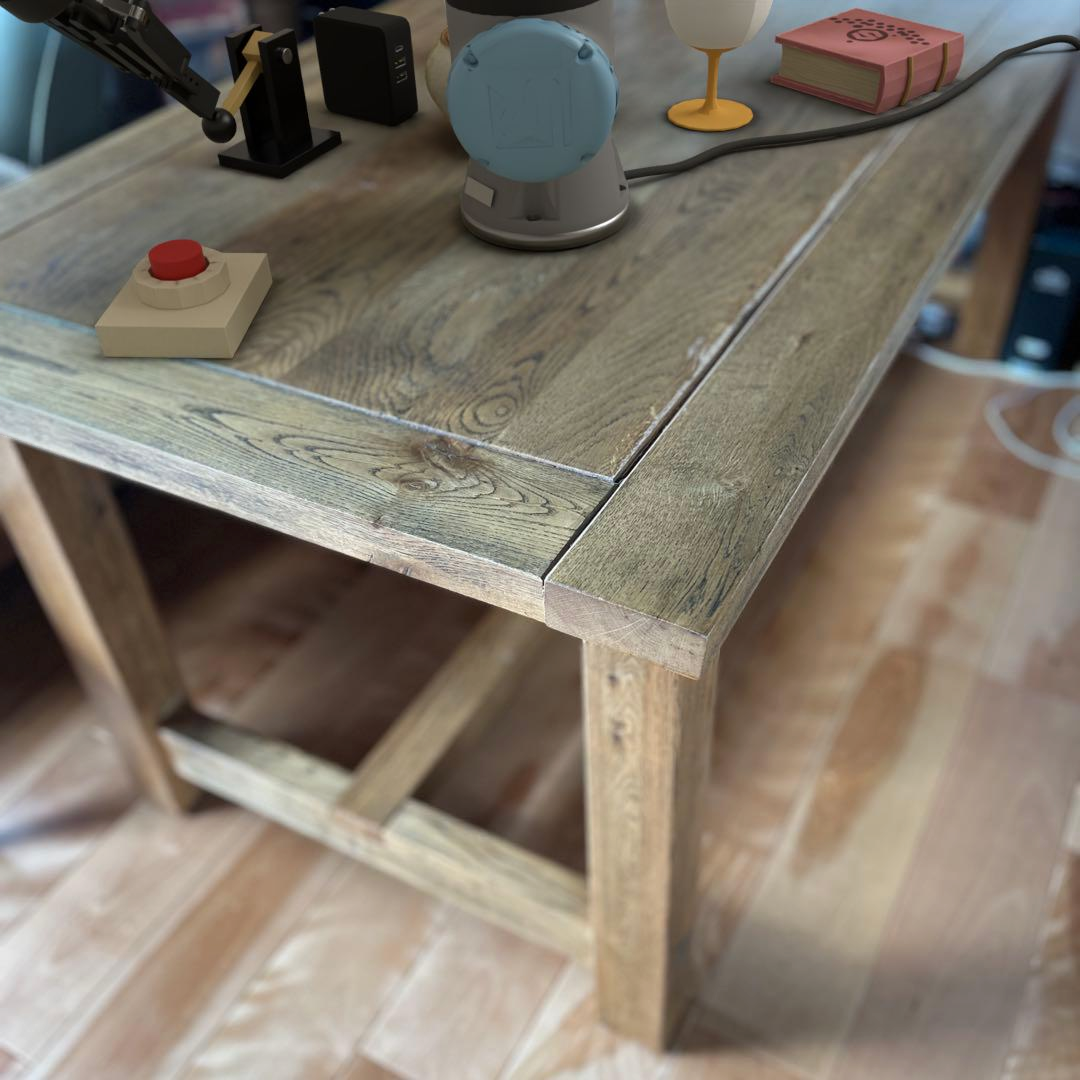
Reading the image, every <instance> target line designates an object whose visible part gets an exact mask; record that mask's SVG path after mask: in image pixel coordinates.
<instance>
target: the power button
mask: <svg viewBox="0 0 1080 1080" xmlns="http://www.w3.org/2000/svg"><path fill="white" fill-rule="evenodd" d="M202 247H203V246H202V245H201V244H200V242H198V241H196V240H194V239H188V238H178V239H177V238H176V239H170V240H166V241H163V242H160V243H158V244H156V245H155V246H153V247H152V248H150V249H149V251H148V252H147V254H148V257H149V261H150V264H151V268H152V271H153V275H154V277H155V278H156V279H158V280H161V281H178V280H183V279H187V278H191V277H194V276H196V275H198V274H200V273H202V272H204V271H205V270H206V263H205V259H204V255H203V251H202Z"/></svg>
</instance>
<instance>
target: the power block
mask: <svg viewBox="0 0 1080 1080" xmlns="http://www.w3.org/2000/svg"><path fill="white" fill-rule="evenodd" d="M201 247H202V251H203V255H204V259H205V263H206V270H205V271H204V272H202V273H200V274H198V275H196V276H194V277H191V278H187V279H183V280H178V281H161V280H158V279H156V278H155V277H154V275H153V271H152V268H151V264H150V261H149V257H148V253H147V254H146V256H145V257H144V258H143V259H140V261H139V262H138V263H137V264H136V266H135V267H134V269H133V270H132V271H131V275H130V277H129V279H127V281H126V282H125V283H124V285H123V286H122V288H121V289H120V291H119V292H118V293H117V294H116V296H115V297H114V299H113V300H112V301H111V303H110V304H109V305H108V307H107V309H105V311H104V312H103V314H102V315H101V316H100V318H99V319H98V321H97V322H96V323H95V325H94V329H95V332H96V335H97V339H98V341H99V344H100V347H101V349H102V353H103V356H104V357H105V358H106V357H107V358H169V359H171V358H173V359H174V358H176V359H178V358H179V359H183V358H184V359H233V358H234V356H235V354H236V353H237V350H238V348H239V347H240V345H241V343H242V341H243V340H244V337H245V335H246V333H247V331H248V330H249V328H250V326H251V324H252V322H253V320H254V319H255V317H256V315H257V313H258V311H259V309H260V307H261V305H262V304H263V302H264V300H265V298H266V296H267V294H268V292H269V290H270V288H271V287H272V285H273V278H272V271H271V267H270V262H269V257H268V253H267V252H221V251H219V250H216V249H213V248H210V247H207V246H201Z"/></svg>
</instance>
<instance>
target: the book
mask: <svg viewBox="0 0 1080 1080" xmlns="http://www.w3.org/2000/svg"><path fill="white" fill-rule="evenodd" d="M774 43H775V44H779V45H781V51H782V52H781V53H782V54H781V60H780V68H779V71H778V73H777V72H776V73H775V74H772V75H771V76H770V83H773V84H775V85H778V86H782V87H784V88H788V89H792V90H794V91H797V92H802V93H805V94H808V95H812V96H815V97H818V98H821V99H824V100H827V101H831V102H834V103H836V104H841V105H843V106H847V107H850V108H853V109H857V110H859V111H863V112H866V113H870V114H874V115H879V114H881V113H884V112H886V111H888V110H891V109H893V108H895V107H897V106H902V107H903V106H905V104H906V102H910V101H911V100H914V99H916V98H918V97H920V96H923V95H926V94H928V93H931V92H932V91H935V92H936V91H937V92H938V91H940V89H941V88H942V87H944V86H946V85H949V84H951V83H953V82H955V80H956V79H957V76H958V75H959V72H960V70H961V68H962V63H963V59H964V55H965V33H962V32H959V31H954V30H950V29H946V28H942V27H937V26H933V25H930V24H925V23H921V22H917V21H912V20H908V19H904V18H900V17H896V16H892V15H887V14H883V13H881V12H880V13H879V12H875V11H872V10H867V9H863V8H858V7H853V8H851V9H848V10H844V11H842V12H839V13H836V14H834V15H830V16H827V17H825V18H822V19H819V20H817V21H814V22H811V23H808V24H805V25H802V26H799V27H796V28H794V29H790V30H788V31H784V32H781V33H778V34H776V35H775V37H774Z"/></svg>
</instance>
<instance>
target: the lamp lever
mask: <svg viewBox="0 0 1080 1080" xmlns="http://www.w3.org/2000/svg"><path fill="white" fill-rule="evenodd" d="M273 34H274V33H273V32H269V31H268V32H266V31H263V32H261V31H255V32H254V33H253V35H252V36H251V38H250V40H249V41H248V43H247V45H246V46H245V48H244V50H243V51H242V54H243V56H244V57H245V59H246V60H247V62H248V63H247V65H246V66H245V68H244V70H243V71H242V73H241V75H240V76H239V78H238V79H237V81H236V83H235V84H234V83H233V86H232V88H231V90H230V91H229V93H228V94H227V96H226V98H225V99H224V101H223V103H222V104H221V106H220V107H217V106H216V108H215V111H214V114H213V117H212V120H211V119H206V118H201V130H202V132H203V134H204V135H205V137H206V138H207V139H208V140H209V141H211V142H213V143H215V144H221V145H222V144H226V143H229V142H230V141H232V140H233V138H234V137H235V135H236V133H237V129H238V128H237V127H238V125H237V121H236V118H235V116H236V114H237V113H238V111H239V108H240V106H241V104H242V103H243V101H244V99H245V97H246V96H247V94H248V92H249V91H250V89H251V87H252V86H253V84H254V82H255V81H256V79H257V77H258V76H259V74H260V72H261V73H263V69H262V63H261V58H260V53H259V47H258V41H260V40H262V39H264V38H266V37H269V36H271V35H273Z"/></svg>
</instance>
